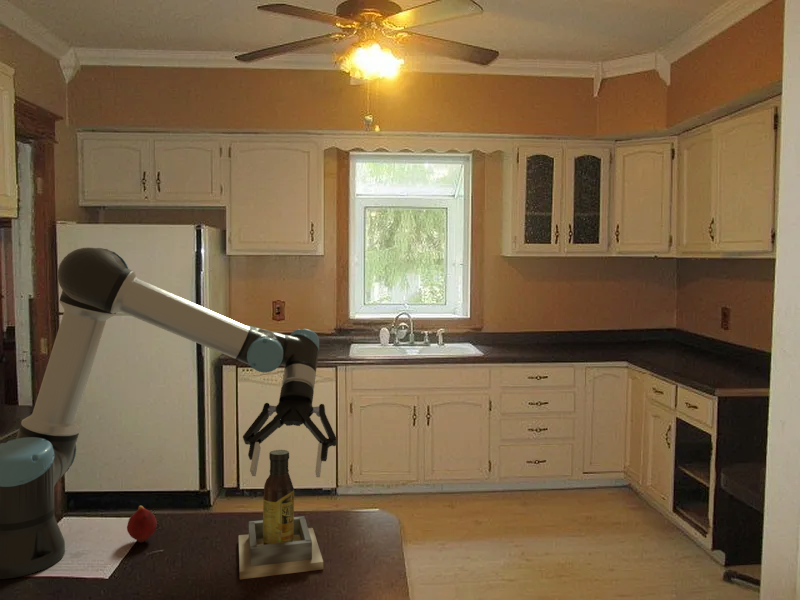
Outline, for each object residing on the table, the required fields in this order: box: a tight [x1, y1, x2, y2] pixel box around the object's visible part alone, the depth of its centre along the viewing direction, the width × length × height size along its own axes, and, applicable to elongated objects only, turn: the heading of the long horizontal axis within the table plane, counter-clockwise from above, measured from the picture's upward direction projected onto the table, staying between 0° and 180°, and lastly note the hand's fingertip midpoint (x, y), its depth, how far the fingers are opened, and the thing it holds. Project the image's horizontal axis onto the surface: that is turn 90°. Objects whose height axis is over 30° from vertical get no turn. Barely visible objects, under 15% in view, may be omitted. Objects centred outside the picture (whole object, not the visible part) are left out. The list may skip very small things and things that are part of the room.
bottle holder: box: [238, 515, 324, 580], centre depth 125 cm, size 16×16×5 cm
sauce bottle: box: [262, 449, 295, 545], centre depth 125 cm, size 7×6×20 cm
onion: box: [126, 505, 158, 543], centre depth 130 cm, size 6×6×8 cm
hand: (285, 474), depth 127 cm, fingers open, 13 cm apart
